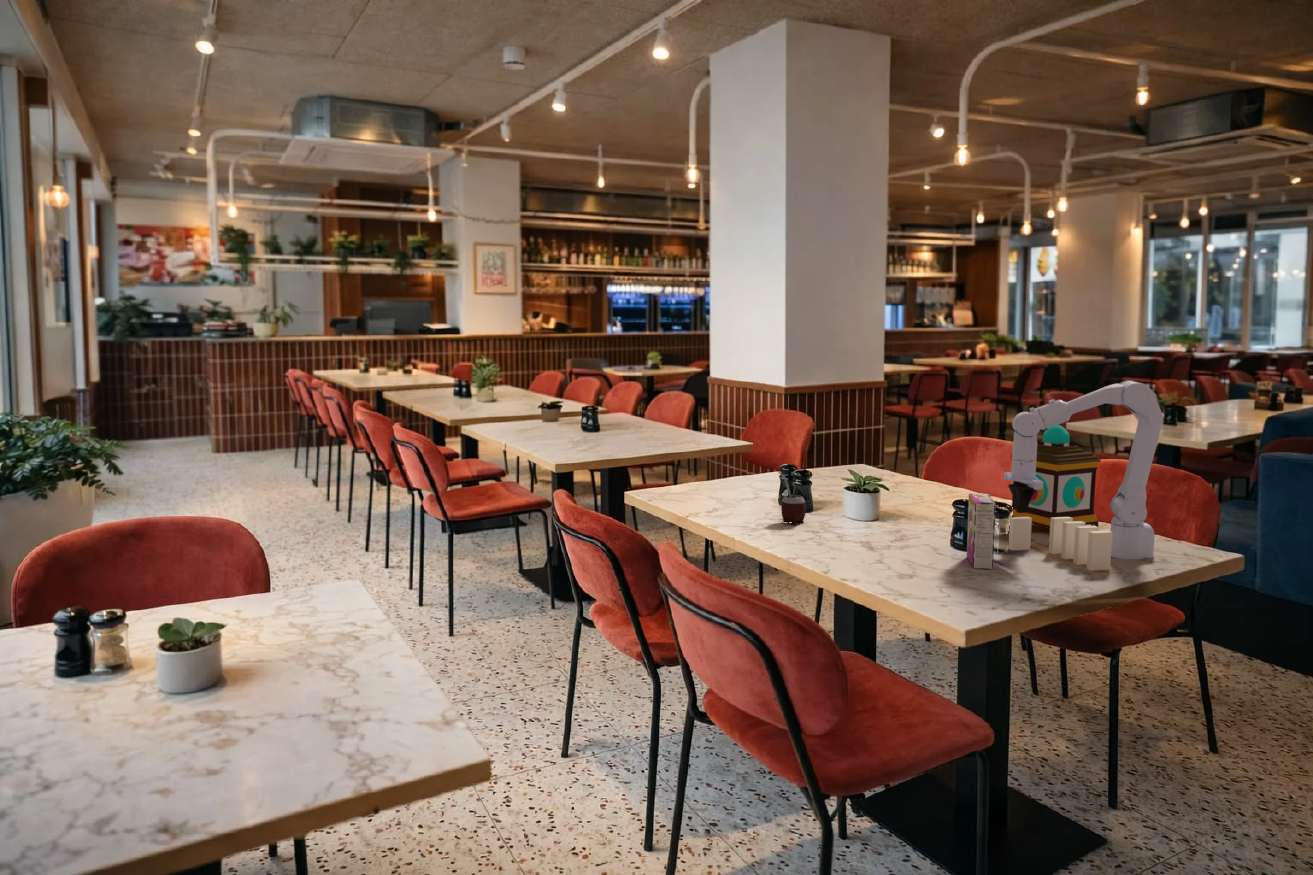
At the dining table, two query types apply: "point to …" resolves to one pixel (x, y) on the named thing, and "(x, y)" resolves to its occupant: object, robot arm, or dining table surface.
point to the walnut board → (1070, 560)
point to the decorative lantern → (1062, 481)
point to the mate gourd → (792, 507)
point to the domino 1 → (1020, 533)
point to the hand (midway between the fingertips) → (1021, 512)
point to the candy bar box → (981, 531)
